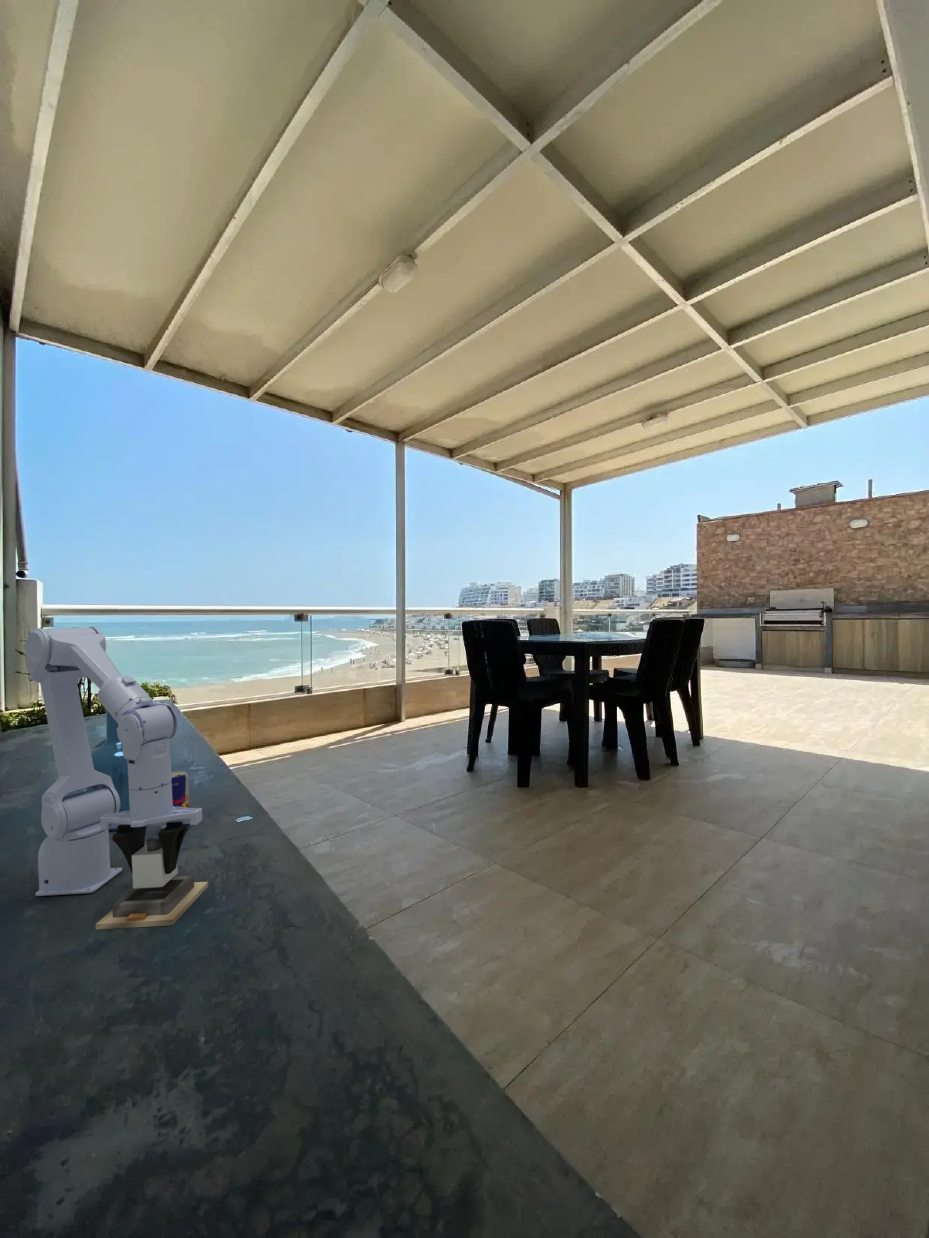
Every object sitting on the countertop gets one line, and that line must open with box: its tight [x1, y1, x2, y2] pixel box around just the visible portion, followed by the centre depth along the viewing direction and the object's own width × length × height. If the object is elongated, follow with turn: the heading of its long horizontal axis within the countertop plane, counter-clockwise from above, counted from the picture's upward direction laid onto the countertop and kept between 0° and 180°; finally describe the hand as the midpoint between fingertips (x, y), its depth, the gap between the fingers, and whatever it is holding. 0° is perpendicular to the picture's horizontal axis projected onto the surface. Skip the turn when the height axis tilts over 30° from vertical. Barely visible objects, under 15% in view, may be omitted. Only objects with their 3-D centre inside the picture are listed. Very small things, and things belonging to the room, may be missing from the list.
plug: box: [131, 835, 179, 889], centre depth 82 cm, size 4×4×6 cm
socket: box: [95, 875, 209, 930], centre depth 81 cm, size 11×11×3 cm
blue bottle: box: [83, 707, 130, 832], centre depth 118 cm, size 14×13×30 cm
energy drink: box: [161, 770, 191, 830], centre depth 112 cm, size 5×5×12 cm
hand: (154, 871), depth 81 cm, fingers closed on plug, 4 cm apart
